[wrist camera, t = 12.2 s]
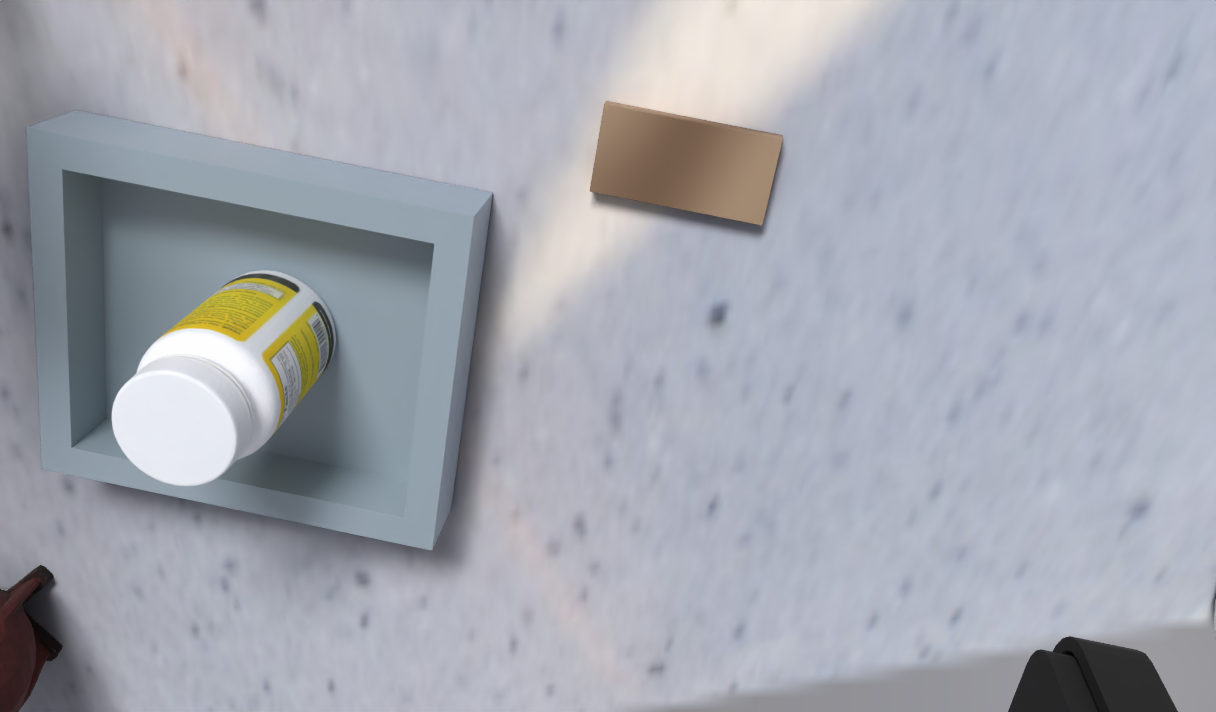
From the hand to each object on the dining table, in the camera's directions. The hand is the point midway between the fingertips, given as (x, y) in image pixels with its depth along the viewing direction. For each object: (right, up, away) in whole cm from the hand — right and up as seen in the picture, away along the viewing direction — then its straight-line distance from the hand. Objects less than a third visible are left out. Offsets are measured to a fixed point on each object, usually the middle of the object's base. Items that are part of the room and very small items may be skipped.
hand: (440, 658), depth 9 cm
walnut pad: (+4, +9, +28) cm, 30 cm away
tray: (-11, +4, +33) cm, 35 cm away
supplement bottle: (-11, +4, +32) cm, 34 cm away
